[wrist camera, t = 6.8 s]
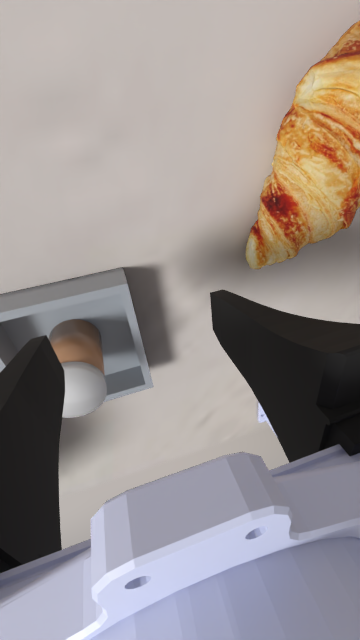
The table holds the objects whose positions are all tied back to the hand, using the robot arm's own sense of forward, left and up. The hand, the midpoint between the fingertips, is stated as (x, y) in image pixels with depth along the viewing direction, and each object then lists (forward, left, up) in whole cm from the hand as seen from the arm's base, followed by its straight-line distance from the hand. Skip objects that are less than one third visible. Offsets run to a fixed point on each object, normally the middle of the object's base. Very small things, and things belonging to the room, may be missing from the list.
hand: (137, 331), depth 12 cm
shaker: (-6, +5, -9) cm, 12 cm away
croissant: (+6, -17, -10) cm, 21 cm away
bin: (-6, +5, -10) cm, 12 cm away
